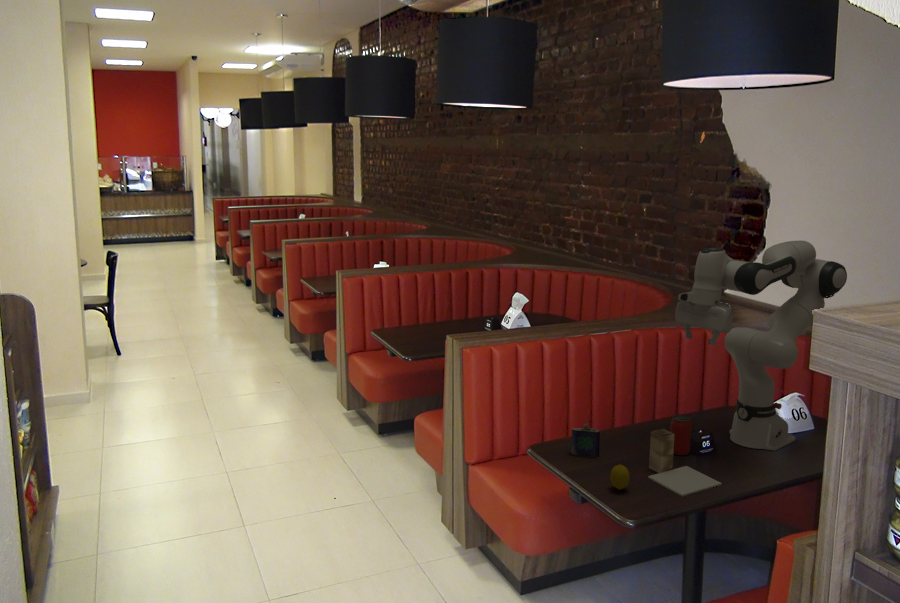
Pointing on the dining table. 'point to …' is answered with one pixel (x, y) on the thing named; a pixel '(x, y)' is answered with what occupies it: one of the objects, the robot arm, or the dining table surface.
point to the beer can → (681, 434)
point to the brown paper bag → (661, 450)
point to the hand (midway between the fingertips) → (699, 341)
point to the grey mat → (684, 481)
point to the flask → (585, 442)
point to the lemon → (619, 477)
